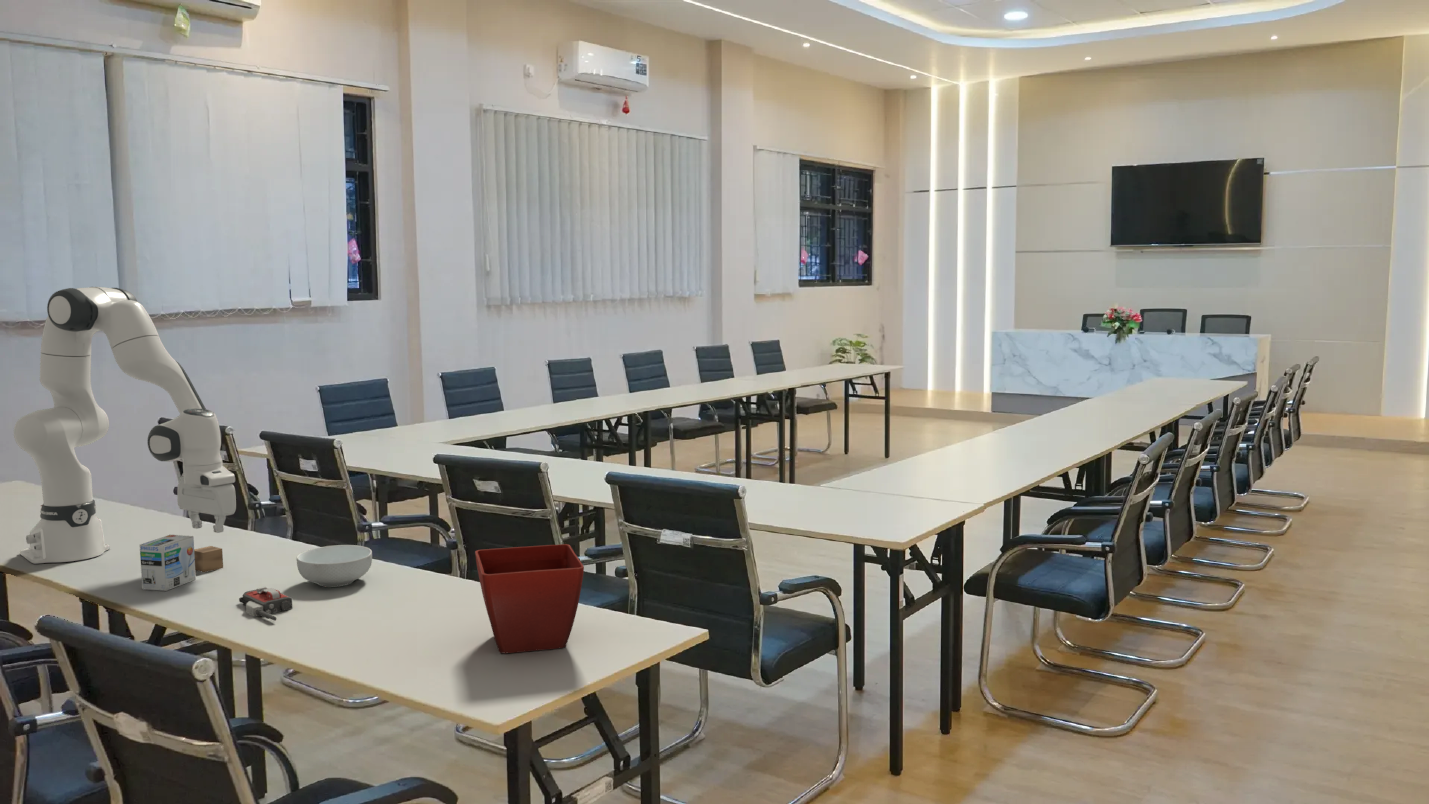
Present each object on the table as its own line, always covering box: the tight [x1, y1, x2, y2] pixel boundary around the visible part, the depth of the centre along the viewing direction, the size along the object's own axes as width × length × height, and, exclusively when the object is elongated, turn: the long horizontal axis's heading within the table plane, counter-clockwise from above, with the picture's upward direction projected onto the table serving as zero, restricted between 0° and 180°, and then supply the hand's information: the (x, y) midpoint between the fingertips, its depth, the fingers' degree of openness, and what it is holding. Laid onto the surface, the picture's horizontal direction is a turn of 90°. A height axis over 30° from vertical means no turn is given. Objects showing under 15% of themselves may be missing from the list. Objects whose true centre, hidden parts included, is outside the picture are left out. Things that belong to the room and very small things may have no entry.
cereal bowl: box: [296, 544, 373, 588], centre depth 256 cm, size 17×17×7 cm
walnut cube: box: [194, 545, 224, 573], centre depth 269 cm, size 5×5×5 cm
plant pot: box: [474, 543, 585, 654], centre depth 213 cm, size 19×19×17 cm
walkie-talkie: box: [238, 586, 293, 621], centre depth 234 cm, size 9×4×20 cm
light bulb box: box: [139, 534, 197, 592], centre depth 254 cm, size 11×7×11 cm, turn 168°
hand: (207, 530), depth 268 cm, fingers open, 8 cm apart
